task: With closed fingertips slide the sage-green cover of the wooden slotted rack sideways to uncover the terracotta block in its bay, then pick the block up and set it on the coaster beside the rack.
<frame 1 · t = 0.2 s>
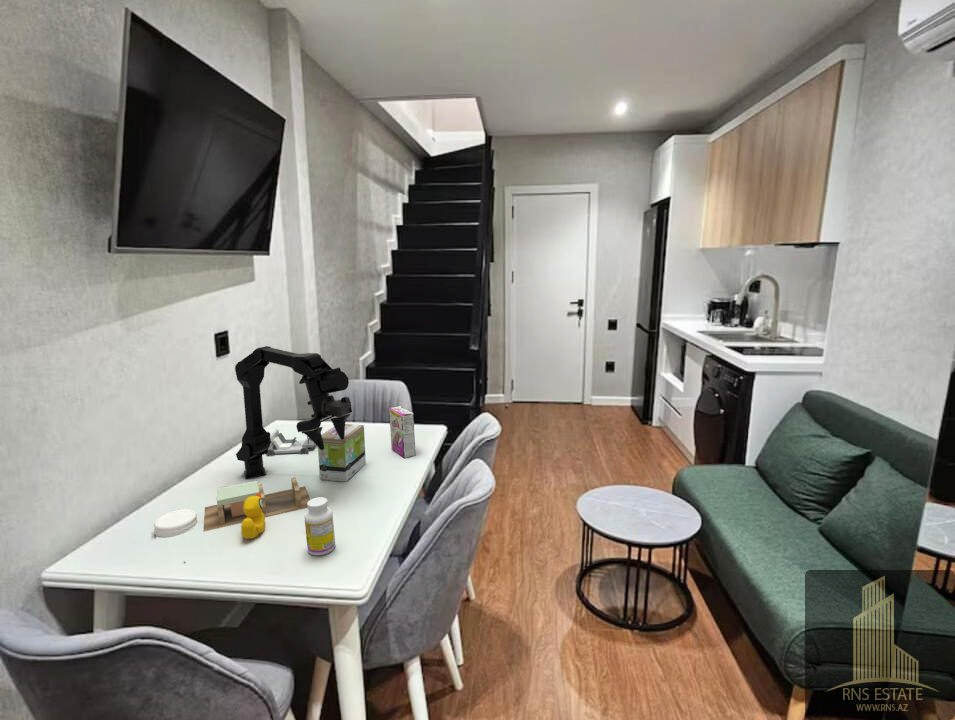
hand: (333, 444, 152), 15 cm above the table, tool pointing down, fingers open, 9 cm apart
tea box: (344, 472, 169), on the table
candy bar box: (403, 453, 185), on the table
supplement bottle: (321, 549, 124), on the table
cover: (238, 492, 141), point 6 cm above the table, slide at 0.0 cm
block: (240, 511, 142), point 1 cm above the table, touching wooden slotted rack
coaster: (177, 530, 135), on the table
duckling: (255, 534, 132), on the table
wooden slotted rack: (260, 508, 145), on the table
toy car: (295, 450, 190), on the table
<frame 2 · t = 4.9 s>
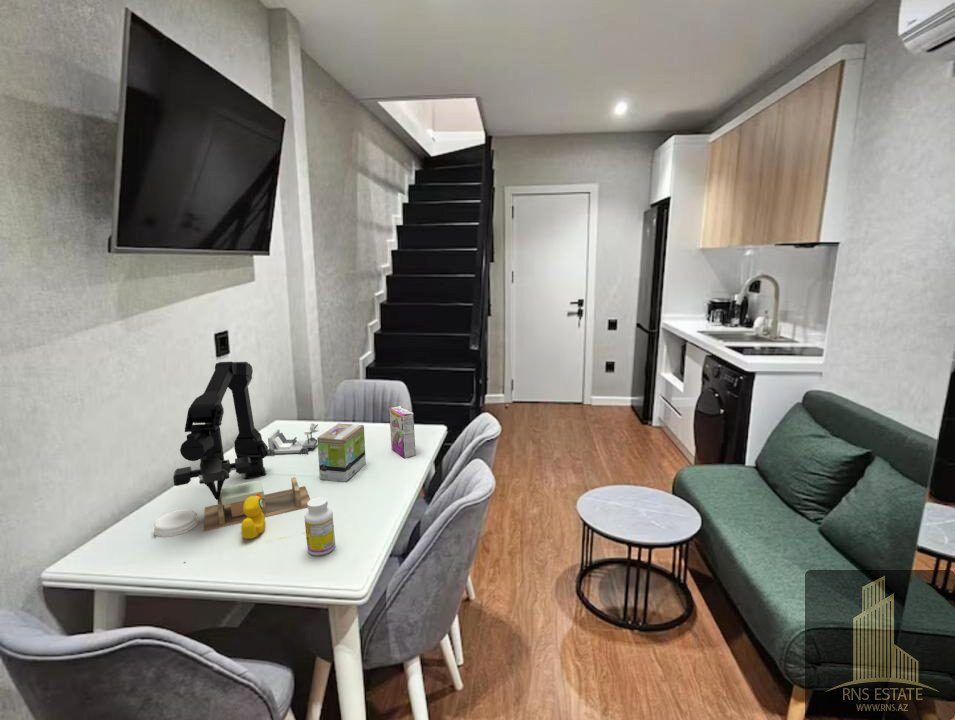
hand: (217, 499, 139), 6 cm above the table, tool pointing down, fingers closed
cover: (242, 491, 142), point 6 cm above the table, slide at 1.1 cm, touching gripper
everything else where it was.
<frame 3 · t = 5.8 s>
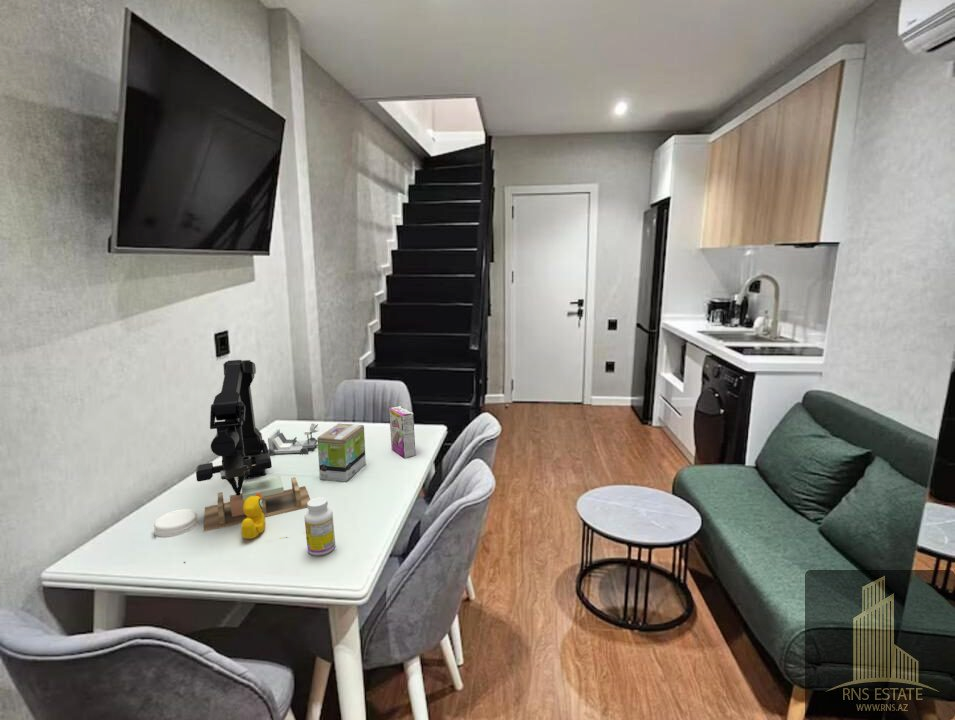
hand: (238, 494, 141), 6 cm above the table, tool pointing down, fingers closed
cover: (262, 487, 144), point 6 cm above the table, slide at 6.3 cm, touching gripper
everything else where it was.
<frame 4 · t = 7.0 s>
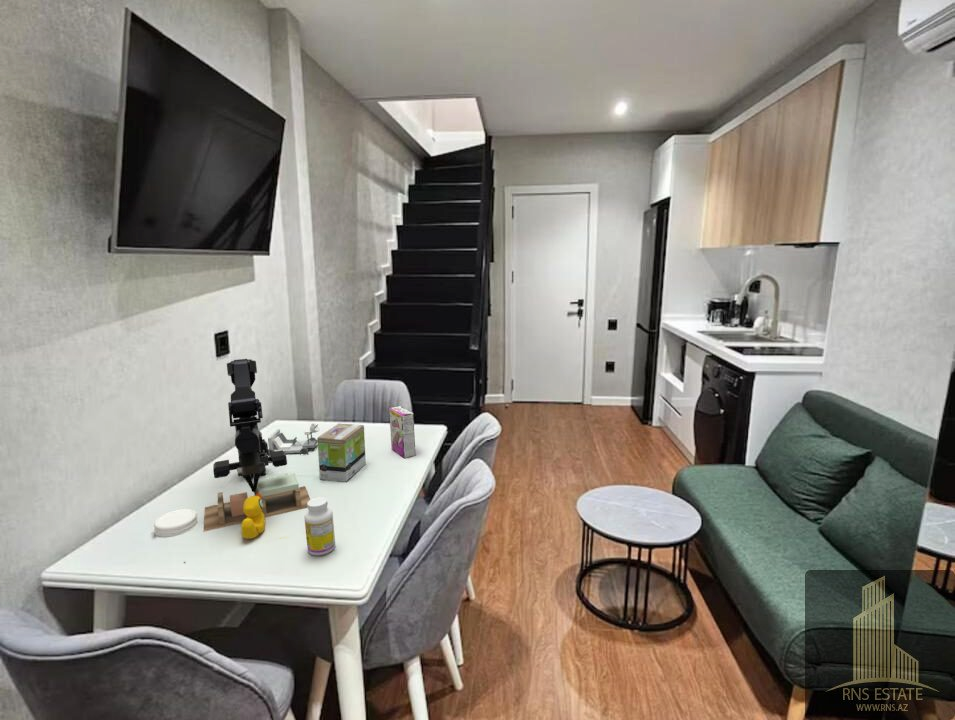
hand: (254, 491, 143), 6 cm above the table, tool pointing down, fingers closed
cover: (277, 484, 146), point 6 cm above the table, slide at 10.4 cm, touching gripper
everything else where it was.
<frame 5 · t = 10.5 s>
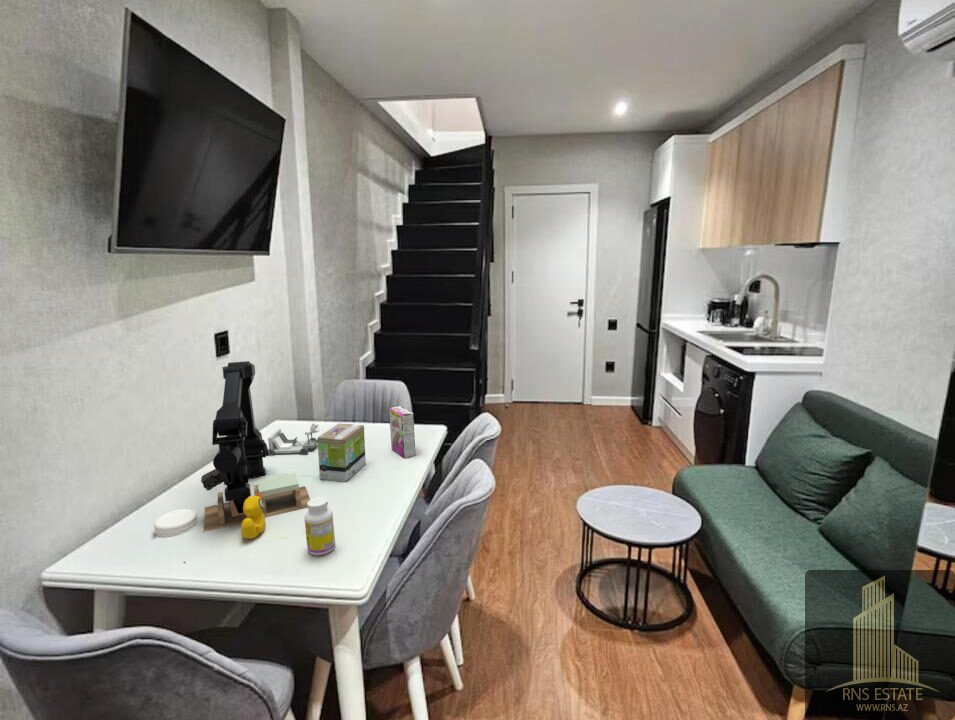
hand: (240, 509, 142), 1 cm above the table, tool pointing down, fingers closed on block, 4 cm apart
cover: (277, 484, 146), point 6 cm above the table, slide at 10.5 cm
block: (240, 511, 142), point 1 cm above the table, touching gripper, wooden slotted rack
everything else where it was.
when the fingers open (6 cm above the table, at t = 13.8 s): block drops 3 cm, resting on coaster.
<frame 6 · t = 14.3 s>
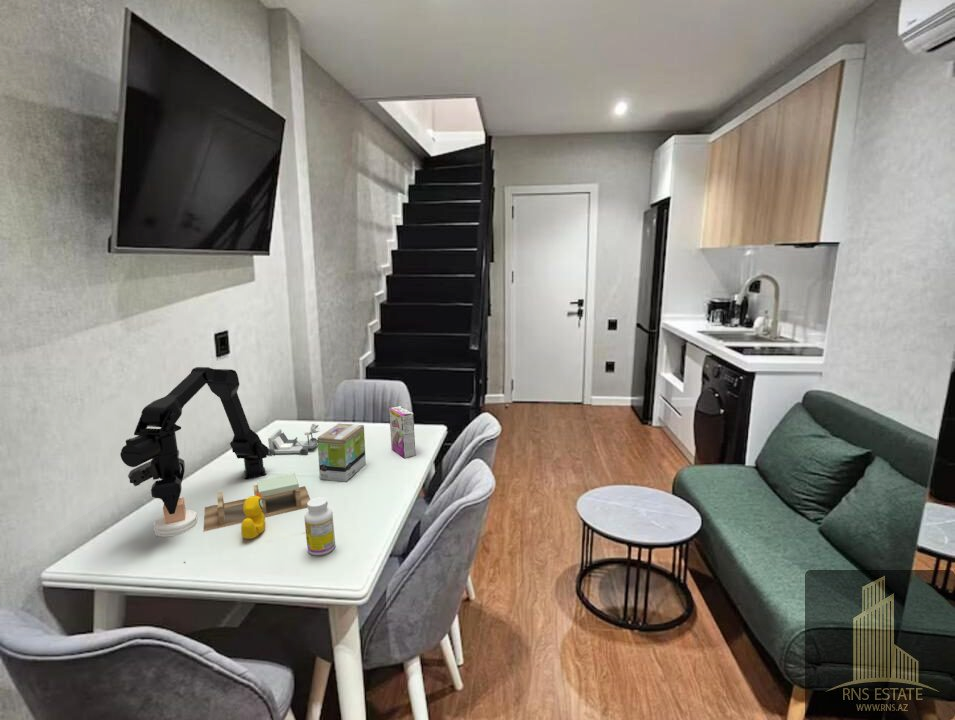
hand: (173, 506, 134), 7 cm above the table, tool pointing down, fingers open, 9 cm apart
block: (175, 517, 135), point 3 cm above the table, touching coaster
coaster: (177, 530, 135), on the table, touching block
everything else where it was.
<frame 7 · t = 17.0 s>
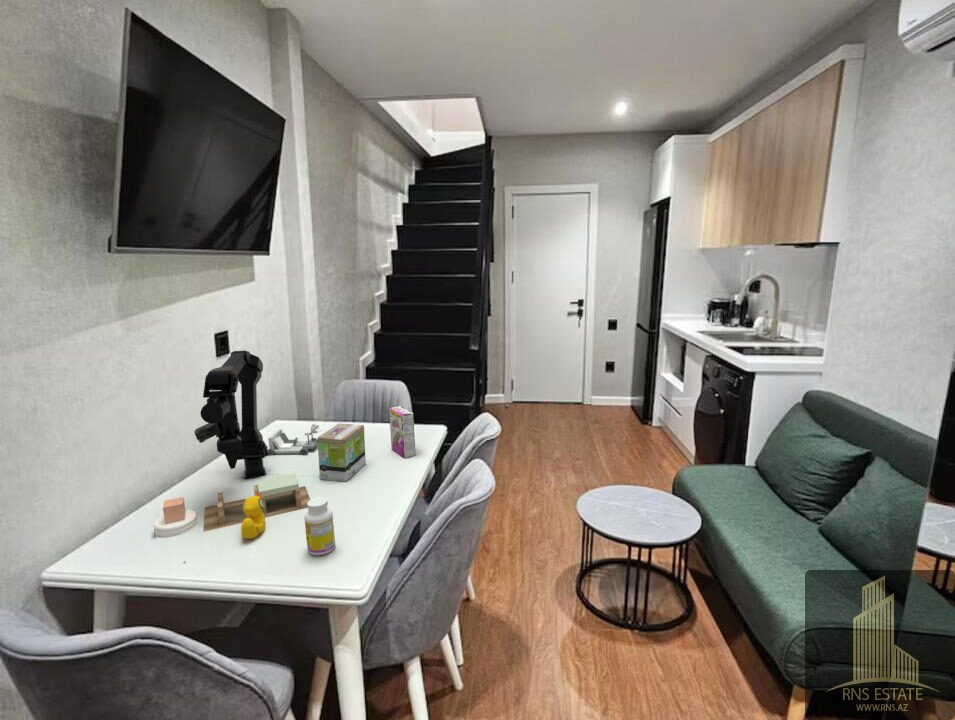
hand: (232, 462, 148), 12 cm above the table, tool pointing down, fingers open, 9 cm apart
nothing on the table moved.
at the end: cover slide at 10.5 cm; block inside the target area on the coaster (0.1 cm from its centre), point 3.7 cm above the coaster's base; the gripper is holding nothing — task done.
